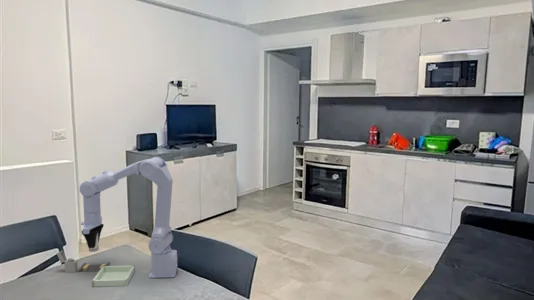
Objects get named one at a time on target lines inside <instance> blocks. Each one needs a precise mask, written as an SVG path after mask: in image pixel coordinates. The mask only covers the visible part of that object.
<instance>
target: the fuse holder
mask: <svg viewBox="0 0 534 300" xmlns="http://www.w3.org/2000/svg"><path fill="white" fill-rule="evenodd" d="M103 266H111V262H108V261H107V263H101V264H90V263H88V264H87V262H84V263H83V264H82V265H81V266H80V267H79V268H78V271H77V272H78V273H86V272H87V273H89V272H92V273H93V272H95V273H96V272H97V273H98V272H99V271H100V269H101V268H102V267H103Z"/></svg>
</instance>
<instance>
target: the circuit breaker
mask: <svg viewBox="0 0 534 300" xmlns="http://www.w3.org/2000/svg"><path fill="white" fill-rule="evenodd" d="M56 255H57V257H58V259H59V262H60V263H61V264H63V263H64V272H65V273H71V274H76V273H77V272H78V270H79V268H78V260H75V259H74V258H67V256H66V255H65V253H64V251H63V250H60V251H58V252H57V253H56Z"/></svg>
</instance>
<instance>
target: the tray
mask: <svg viewBox="0 0 534 300" xmlns="http://www.w3.org/2000/svg"><path fill="white" fill-rule="evenodd" d="M135 271H136V265H109V266H103V267H102V268H101V269H100V271H97V273H96V275H95V276H94V277H93V279H92V280H91V287H92V288H97V287H99V288H100V287H101V288H103V287H105V288H106V287H127V286H128V284H129V283H130V280H131V279H132V278H133V275H134V273H135Z"/></svg>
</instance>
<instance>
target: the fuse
mask: <svg viewBox="0 0 534 300" xmlns="http://www.w3.org/2000/svg"><path fill="white" fill-rule="evenodd" d="M99 247H100V246H99V243H98V234H97V237H96V245H95V248H89V247H88V252H91V253H94V252H98V251H100V250H99V249H100V248H99Z"/></svg>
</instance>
